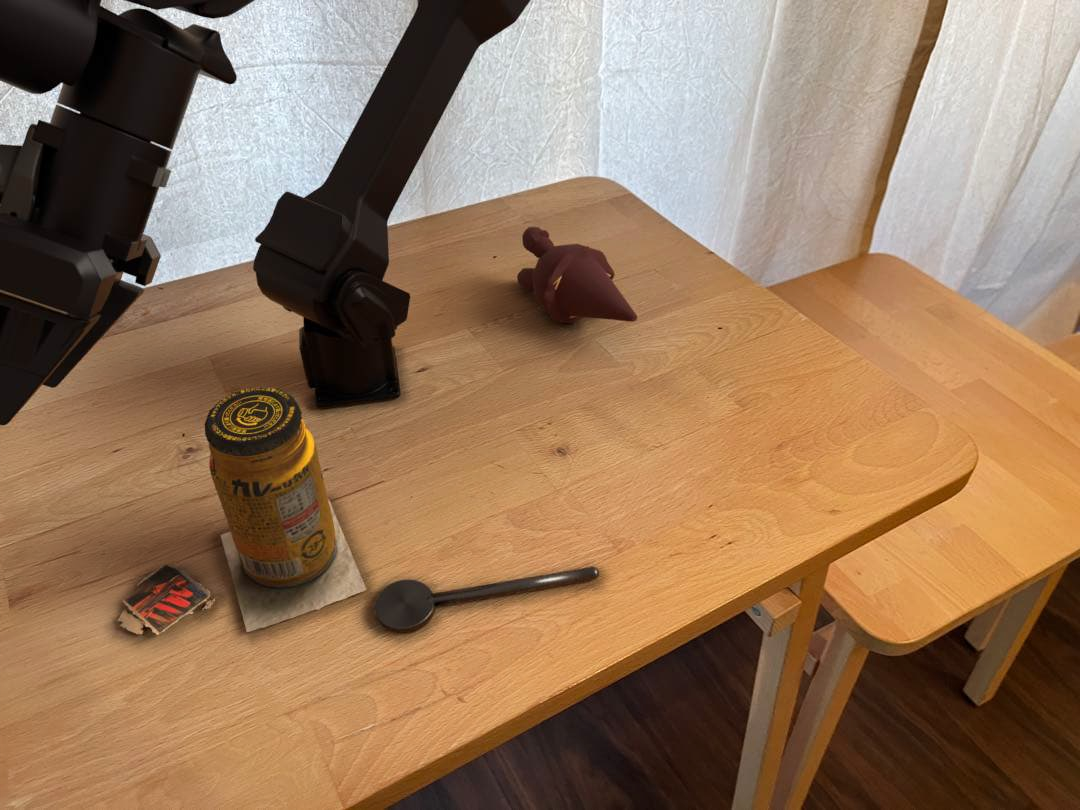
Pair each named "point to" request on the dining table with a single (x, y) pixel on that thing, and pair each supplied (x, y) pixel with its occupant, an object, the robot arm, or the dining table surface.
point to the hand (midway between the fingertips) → (22, 402)
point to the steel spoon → (455, 597)
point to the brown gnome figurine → (572, 281)
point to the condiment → (276, 509)
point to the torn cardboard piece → (163, 600)
